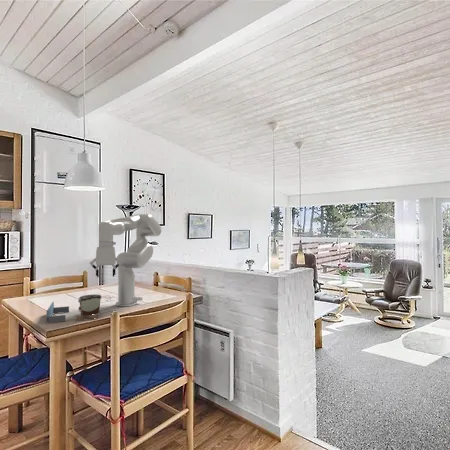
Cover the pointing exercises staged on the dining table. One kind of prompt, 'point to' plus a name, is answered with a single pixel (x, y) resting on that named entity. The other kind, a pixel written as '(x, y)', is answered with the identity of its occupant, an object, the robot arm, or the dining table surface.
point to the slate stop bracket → (56, 310)
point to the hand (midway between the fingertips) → (105, 276)
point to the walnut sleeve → (86, 317)
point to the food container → (89, 304)
